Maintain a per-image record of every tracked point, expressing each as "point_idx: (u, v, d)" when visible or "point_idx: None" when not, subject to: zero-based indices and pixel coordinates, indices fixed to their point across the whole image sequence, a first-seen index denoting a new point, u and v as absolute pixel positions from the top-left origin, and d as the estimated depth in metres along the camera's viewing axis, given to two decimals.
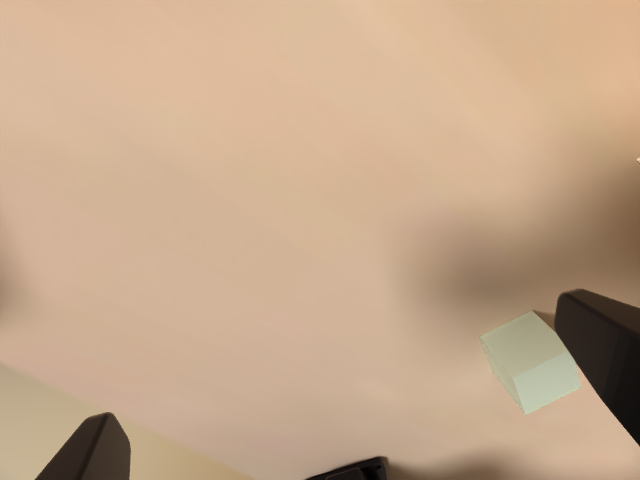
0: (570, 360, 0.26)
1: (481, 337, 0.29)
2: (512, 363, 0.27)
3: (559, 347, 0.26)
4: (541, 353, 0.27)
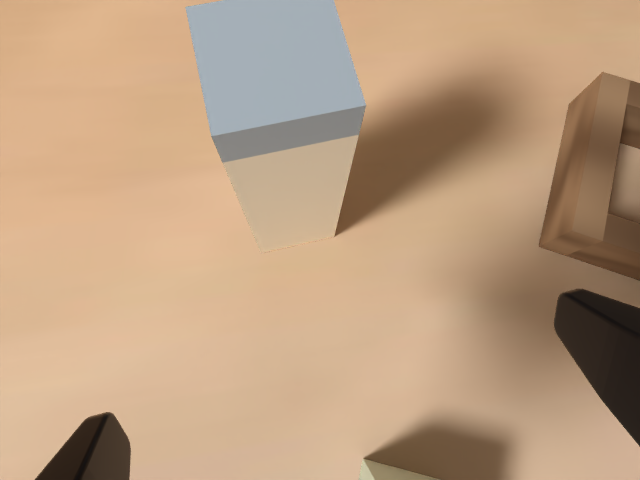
0: None
1: None
2: None
3: None
4: None
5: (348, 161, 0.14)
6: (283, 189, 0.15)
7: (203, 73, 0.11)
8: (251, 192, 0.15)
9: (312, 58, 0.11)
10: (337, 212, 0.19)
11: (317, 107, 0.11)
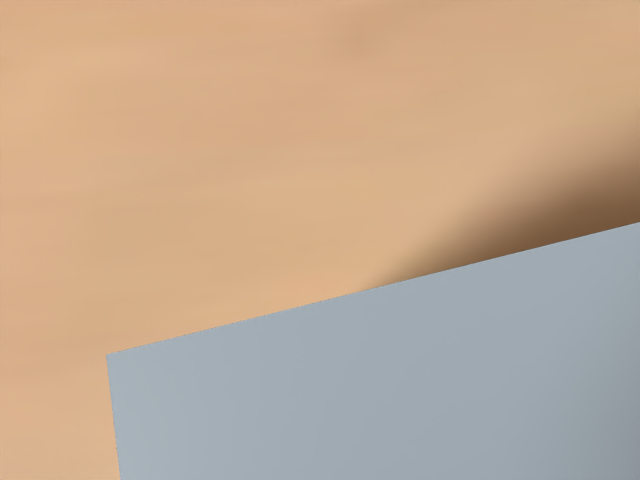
0: None
1: None
2: None
3: None
4: None
5: None
6: None
7: None
8: None
9: None
10: None
11: None
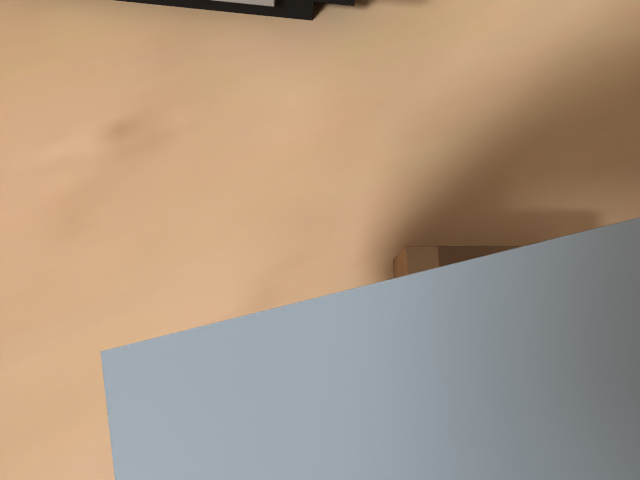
0: None
1: None
2: None
3: None
4: None
5: None
6: None
7: None
8: None
9: None
10: None
11: None
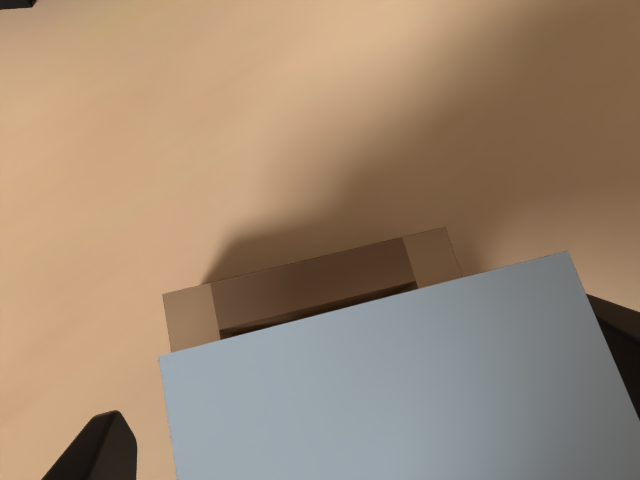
0: None
1: None
2: None
3: None
4: None
5: None
6: None
7: None
8: None
9: None
10: None
11: None
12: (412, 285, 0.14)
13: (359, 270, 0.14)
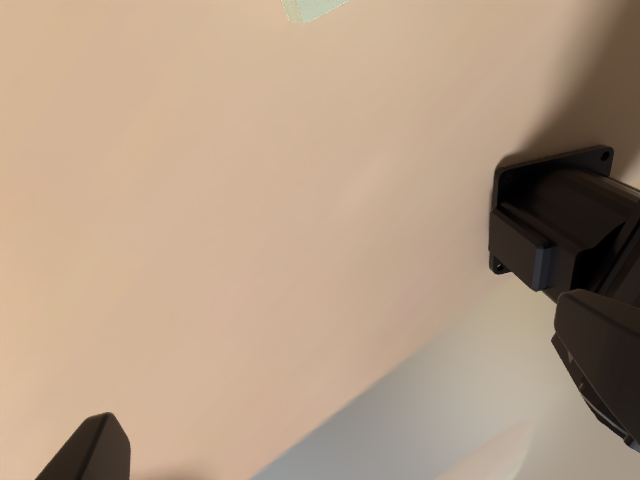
0: None
1: (288, 18, 0.17)
2: (293, 5, 0.14)
3: None
4: None
5: None
6: None
7: None
8: None
9: None
10: None
11: None
12: None
13: None
